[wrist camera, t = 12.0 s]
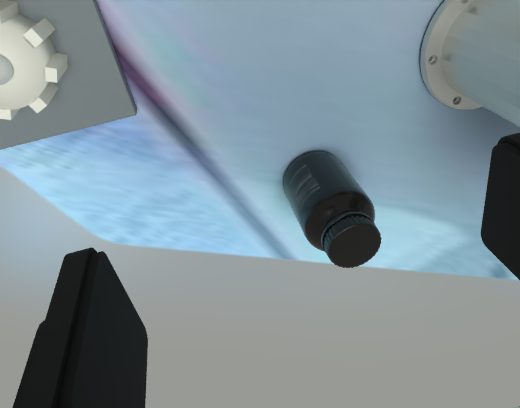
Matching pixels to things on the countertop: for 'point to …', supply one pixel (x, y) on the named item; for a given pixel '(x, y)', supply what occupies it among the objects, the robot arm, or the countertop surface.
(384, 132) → the countertop surface
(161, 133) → the countertop surface
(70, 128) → the gear board
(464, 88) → the robot arm
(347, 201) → the supplement bottle
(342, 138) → the countertop surface
